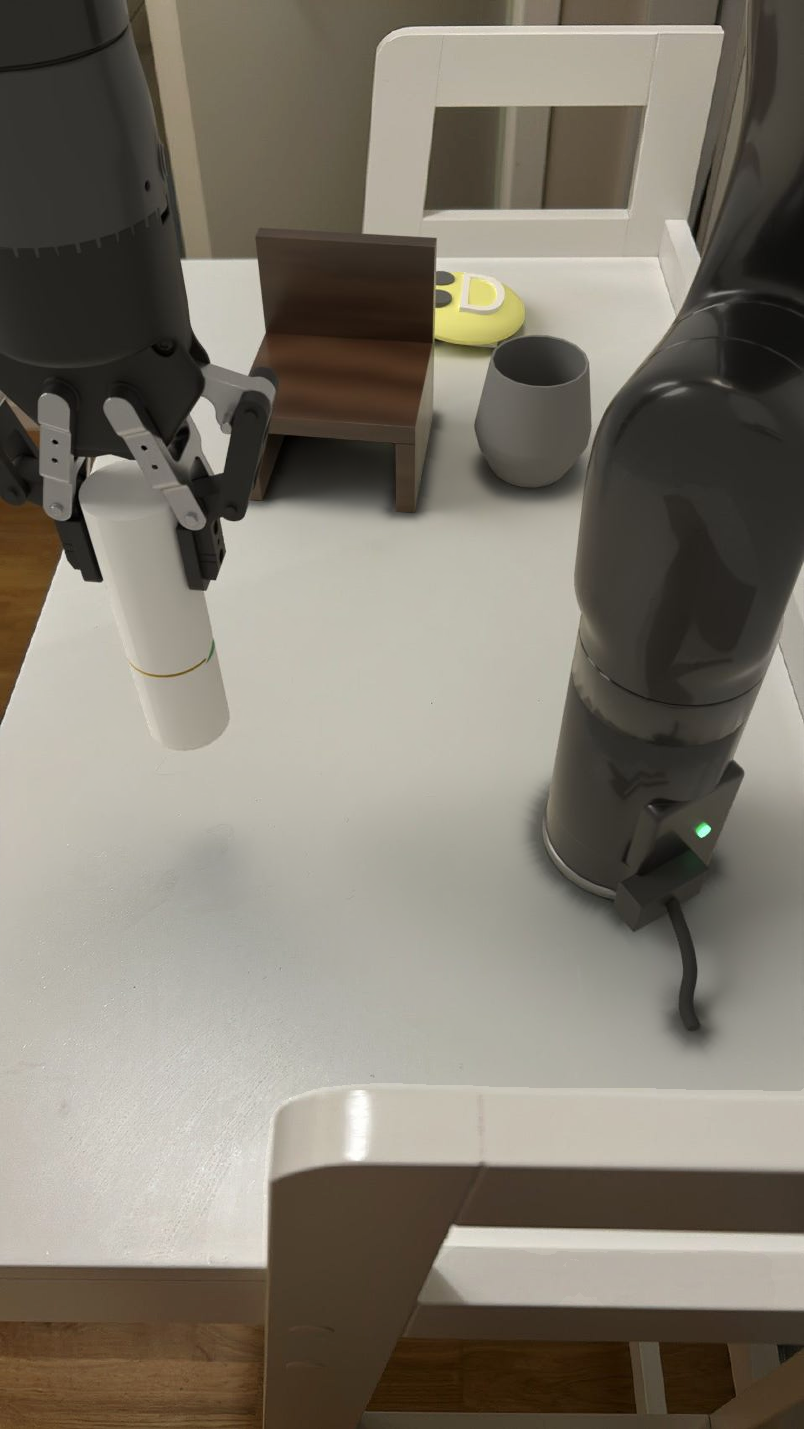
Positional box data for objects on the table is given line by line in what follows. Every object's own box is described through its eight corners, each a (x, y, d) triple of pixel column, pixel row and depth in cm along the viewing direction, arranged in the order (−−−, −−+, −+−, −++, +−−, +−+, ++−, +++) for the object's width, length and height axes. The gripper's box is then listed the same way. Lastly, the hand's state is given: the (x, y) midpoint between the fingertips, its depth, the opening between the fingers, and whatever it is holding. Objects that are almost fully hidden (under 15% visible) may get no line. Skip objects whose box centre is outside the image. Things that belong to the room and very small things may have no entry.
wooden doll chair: (414, 513, 84) (416, 328, 72) (244, 499, 85) (217, 315, 73) (432, 417, 93) (436, 237, 81) (278, 406, 94) (259, 227, 82)
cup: (605, 484, 86) (625, 376, 79) (507, 515, 84) (517, 406, 76) (547, 424, 92) (560, 318, 84) (453, 451, 89) (457, 344, 82)
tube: (195, 762, 54) (135, 533, 42) (131, 730, 55) (56, 500, 44) (245, 708, 56) (201, 477, 45) (183, 679, 58) (124, 448, 46)
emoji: (529, 265, 104) (409, 251, 104) (527, 329, 96) (397, 313, 96) (523, 302, 107) (406, 288, 107) (520, 367, 99) (394, 352, 99)
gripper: (-204, 229, 33) (-29, 619, 46) (235, 249, 32) (289, 645, 45) (-101, 136, 38) (31, 513, 51) (284, 150, 37) (320, 533, 50)
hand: (151, 573), depth 48 cm, fingers closed on tube, 4 cm apart
